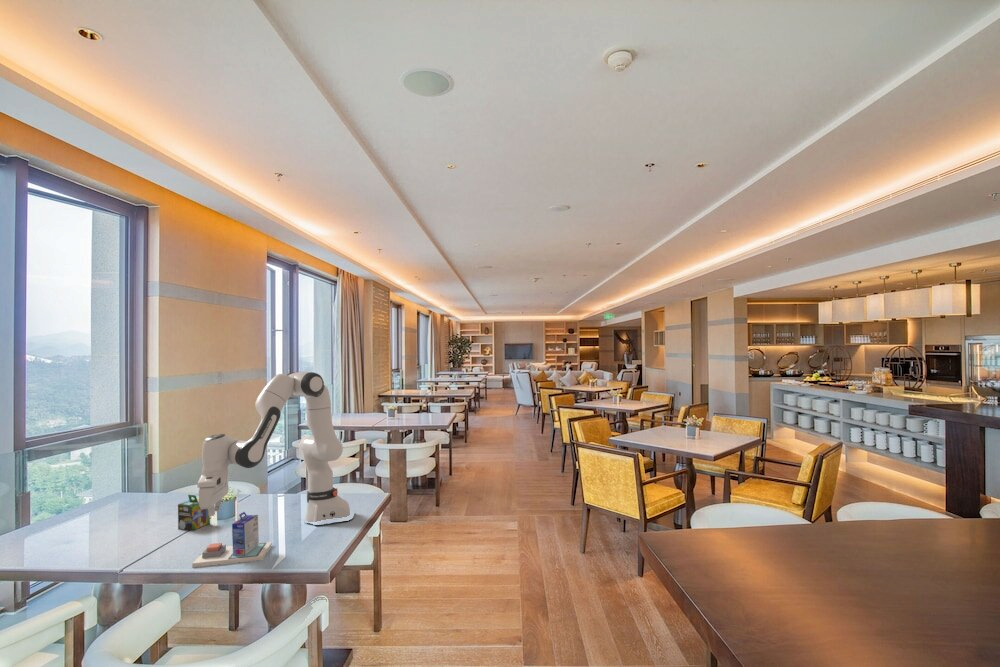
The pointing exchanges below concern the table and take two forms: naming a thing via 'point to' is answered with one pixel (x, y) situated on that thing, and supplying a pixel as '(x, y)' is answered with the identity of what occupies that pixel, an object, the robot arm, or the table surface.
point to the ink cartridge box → (245, 534)
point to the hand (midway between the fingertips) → (214, 513)
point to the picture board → (231, 555)
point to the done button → (214, 547)
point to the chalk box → (192, 515)
